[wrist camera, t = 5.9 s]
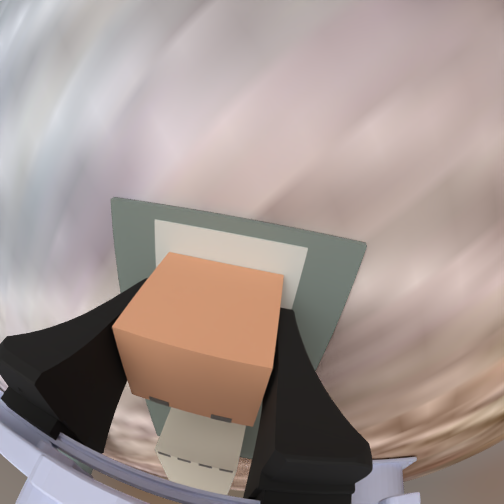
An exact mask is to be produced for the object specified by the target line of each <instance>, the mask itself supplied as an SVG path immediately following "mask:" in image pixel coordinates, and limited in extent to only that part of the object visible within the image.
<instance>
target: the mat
mask: <svg viewBox="0 0 504 504" xmlns="http://www.w3.org/2000/svg"><path fill="white" fill-rule="evenodd" d="M111 213H112V226H113V237H114V247H115V255H116V263H117V271H118V278H119V285H120V291H121V293H122V292H124V291H125V290H127V289H129V288H130V287H132V286H133V285H135V284H137V283H138V282H140V281H142V280H143V279H145V278H149V277H150V275H151V274H152V273H153V271H154V270H155V269H156V268H157V266H158V265H159V264H160V263H161V261H162V260H163V259H164V258H165V256H166V255H167V254H168V253H169V252H172V253H177V254H182V255H187V256H192V257H196V258H201V259H206V260H211V261H216V262H221V263H226V264H231V265H236V266H241V267H246V268H251V269H256V270H261V271H266V272H271V273H276V274H281V275H284V278H283V288H282V297H281V305H280V307H281V308H286V309H292V310H293V311H294V312H295V317H296V322H297V325H298V329H299V332H300V335H301V338H302V341H303V344H304V346H305V349H306V352H307V354H308V356H309V359H310V361H311V363H312V365H313V368H314V370H315V371H316V369H317V367H318V364H319V362H320V360H321V358H322V356H323V354H324V352H325V350H326V347H327V345H328V343H329V341H330V339H331V336H332V334H333V332H334V329H335V327H336V325H337V322H338V320H339V318H340V315H341V313H342V311H343V308H344V306H345V303H346V301H347V298H348V296H349V293H350V291H351V288H352V285H353V283H354V280H355V278H356V275H357V272H358V269H359V267H360V264H361V261H362V258H363V256H364V253H365V250H366V247H367V245H366V243H365V242H360V241H356V240H351V239H347V238H342V237H337V236H332V235H328V234H323V233H318V232H313V231H308V230H303V229H298V228H293V227H288V226H283V225H278V224H272V223H267V222H262V221H256V220H251V219H246V218H240V217H235V216H229V215H223V214H218V213H212V212H206V211H200V210H194V209H188V208H182V207H176V206H170V205H164V204H157V203H151V202H144V201H138V200H131V199H124V198H117V197H114V198H112V199H111ZM145 400H146V403H147V406H148V409H149V412H150V415H151V419H152V422H153V424H154V427H155V430H156V433H157V435H158V436H160V435H161V432H162V430H163V427H164V424H165V422H166V419H167V417H168V414H169V412H170V409H171V407H168V406H165V405H161V404H158V403H155V402H152V401H150V400H148V399H145ZM262 401H263V399H262ZM261 411H262V402H261V405H260V408H259V411H258V414H257V417H256V420H255V422H254V425H253V427H251V426H246V428H245V433H244V438H243V443H242V448H241V452H240V457H243V458H248V459H252V458H253V453H254V449H255V444H256V439H257V434H258V429H259V423H260V418H261Z"/></svg>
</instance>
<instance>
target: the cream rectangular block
mask: <svg viewBox="0 0 504 504" xmlns="http://www.w3.org/2000/svg"><path fill="white" fill-rule="evenodd" d="M245 428H246V425H241V424H236V423H228V422H224V421H219V420H215V419H211V418H209V417H205V416H201V415H197V414H194V413H190V412H186V411H183V410H179V409H176V408H173V407H171V409H170V412H169V414H168V417H167V419H166V422H165V424H164V427H163V430H162V432H161V435H160V437H159V440H158V442H157V445H156V448H155V452H156V454H157V456H158V458H159V460H160V462H161V465H162V467H163V469H164V471H165V473H166V475H167V477H168V479H169V481H172V482H175V483H179V484H182V485H186V486H189V487H193V488H197V489H201V490H205V491H209V492H214V493H218V494H223V495H227V494H228V491H229V489H230V487H231V484H232V482H233V479H234V476H235V474H236V471H237V467H238V462H239V457H240V452H241V448H242V443H243V438H244V433H245Z"/></svg>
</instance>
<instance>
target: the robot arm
mask: <svg viewBox="0 0 504 504" xmlns="http://www.w3.org/2000/svg"><path fill="white" fill-rule="evenodd" d="M147 279H148V278H145V279H143V280H142V281H140V282H138V283H137V284H135V285H133V286H132V287H130V288H129V289H127V290H125V291H124V292H122V293H121V294H119V295H117V296H116V297H114V298H112V299H111V300H109V301H107V302H106V303H104V304H102V305H100V306H98V307H97V308H95V309H93V310H91V311H89V312H87V313H85V314H83V315H81V316H79V317H76V318H74V319H72V320H69V321H67V322H64V323H61V324H58V325H56V326H53V327H50V328H46V329H43V330H39V331H35V332H31V333H26V334H20V335H13V336H7V337H6V338H5V339H4V340H3V341H2V343H1V344H0V375H1V376H2V378H3V379H4V381H5V382H6V383H7V385H8V386H9V387H8V388H7V390H6V391H5V392H2V391H1V390H0V453H1V454H2V455H3V456H4V457H5V458H6V459H7V460H8V461H9V462H11V463H12V464H13V465H14V466H15V467H16V468H18V469H19V470H20V471H21V472H22V473H24V474H25V475H26V476H27V477H28V478H27V480H26V482H25V484H24V486H23V488H22V490H21V493H20V495H19V497H18V499H17V501H16V503H15V504H150V503H147V502H144V501H142V500H139V499H137V498H134V497H132V496H130V495H127V494H125V493H123V492H120V491H118V490H116V489H114V488H111V487H109V486H107V485H105V484H103V483H101V482H99V481H97V480H94V479H93V477H92V475H90V474H89V473H87V472H86V471H84V470H83V469H82V468H80V467H79V466H78V465H77V464H76V463H75V462H74V461H73V460H71V459H70V458H68V457H67V456H65V455H64V454H62V453H61V452H59V451H58V449H59V450H60V451H62V452H64V453H65V454H67V455H69V456H70V457H72V458H74V459H76V460H78V461H79V462H81V463H83V464H85V465H87V466H89V467H91V468H93V469H95V470H97V471H99V472H101V473H103V474H105V475H107V476H109V477H111V478H114V479H116V480H118V481H120V482H123V483H125V484H128V485H130V486H133V487H135V488H138V489H140V490H143V491H145V492H148V493H151V494H154V495H157V496H160V497H163V498H166V499H169V500H172V501H175V502H179V503H182V504H421V503H420V493H419V492H413V493H407V494H404V485H403V473H402V470H403V469H404V468H406V467H407V466H409V465H410V464H412V463H413V462H415V461H416V460H417V457H408V458H397V459H382V460H372V455H371V450H370V446H369V443H368V442H367V441H366V440H365V439H364V438H363V437H362V436H361V435H360V434H359V433H358V432H357V431H356V430H355V429H354V428H353V426H352V425H351V424H350V423H349V422H348V420H347V419H346V418H345V417H344V416H343V414H342V413H341V412H340V410H339V409H338V407H337V406H336V405H335V403H334V402H333V400H332V399H331V398H330V396H329V395H328V393H327V391H326V390H325V388H324V386H323V385H322V383H321V381H320V379H319V377H318V376H317V374H316V372H315V370H314V368H313V365H312V363H311V361H310V359H309V356H308V354H307V352H306V349H305V346H304V344H303V341H302V338H301V335H300V332H299V329H298V325H297V322H296V317H295V312H294V311H293V310H292V309H286V308H281V307H280V314H279V322H278V330H277V338H276V346H275V354H274V361H273V369H272V372H271V375H270V378H269V381H268V384H267V387H266V390H265V393H264V396H263V401H262V411H261V418H260V423H259V429H258V434H257V439H256V444H255V449H254V453H253V458H252V463H251V467H250V472H249V476H248V480H247V484H246V488H245V493H244V497H243V498H239V497H233V496H228V495H223V494H218V493H214V492H209V491H205V490H201V489H197V488H193V487H189V486H186V485H182V484H179V483H175V482H172V481H169V480H165V479H163V478H160V477H157V476H154V475H151V474H148V473H145V472H143V471H140V470H137V469H135V468H132V467H130V466H127V465H125V464H123V463H120V462H118V461H116V460H113V459H111V458H109V457H107V456H105V455H103V454H102V453H104V448H105V444H106V440H107V436H108V433H109V429H110V426H111V423H112V419H113V416H114V413H115V410H116V408H117V405H118V402H119V400H120V397H121V394H122V392H123V390H124V387H125V385H126V382H127V377H126V374H125V371H124V368H123V365H122V361H121V358H120V354H119V351H118V347H117V344H116V340H115V336H114V332H113V329H112V326H113V324H114V323H115V322H116V320H117V319H118V318H119V316H120V315H121V313H122V312H123V311H124V309H125V308H126V307H127V305H128V304H129V303H130V301H131V300H132V299H133V297H134V296H135V295H136V293H137V292H138V291H139V289H140V288H141V287H142V286H143V284H144V283H145V282H146V280H147Z"/></svg>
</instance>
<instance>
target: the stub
mask: <svg viewBox="0 0 504 504" xmlns="http://www.w3.org/2000/svg"><path fill="white" fill-rule="evenodd" d="M283 278H284V275H281V274H276V273H271V272H266V271H261V270H256V269H251V268H246V267H241V266H236V265H231V264H226V263H221V262H216V261H211V260H206V259H201V258H196V257H192V256H187V255H182V254H177V253H172V252H169V253H168V254H167V255H166V256H165V258H164V259H163V260H162V261H161V263H160V264H159V265H158V266H157V268H156V269H155V270H154V271H153V273H152V274H151V275H150V277H149V278H148V279H147V280H146V282H145V283H144V284H143V286H142V287H141V288H140V289H139V291H138V292H137V293H136V295H135V296H134V297H133V299H132V300H131V301H130V303H129V304H128V305H127V307H126V308H125V309H124V311H123V312H122V313H121V315H120V316H119V318H118V319H117V320H116V322H115V323H114V324H113V326H112V329H113V332H114V336H115V340H116V344H117V347H118V351H119V354H120V358H121V361H122V365H123V368H124V371H125V374H126V377H127V380H128V383H129V386H130V389H131V392H132V394H134V395H137V396H140V397H142V398H145V399H148V400H150V401H152V402H155V403H158V404H161V405H165V406H168V407H173V408H176V409H179V410H183V411H186V412H190V413H194V414H197V415H201V416H205V417H209V418H211V419H215V420H219V421H224V422H228V423H236V424H241V425H246V426H251V427H253V425H254V422H255V420H256V417H257V414H258V411H259V408H260V405H261V402H262V399H263V396H264V393H265V390H266V387H267V384H268V381H269V378H270V375H271V372H272V369H273V361H274V354H275V346H276V338H277V330H278V322H279V314H280V305H281V297H282V288H283Z"/></svg>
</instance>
